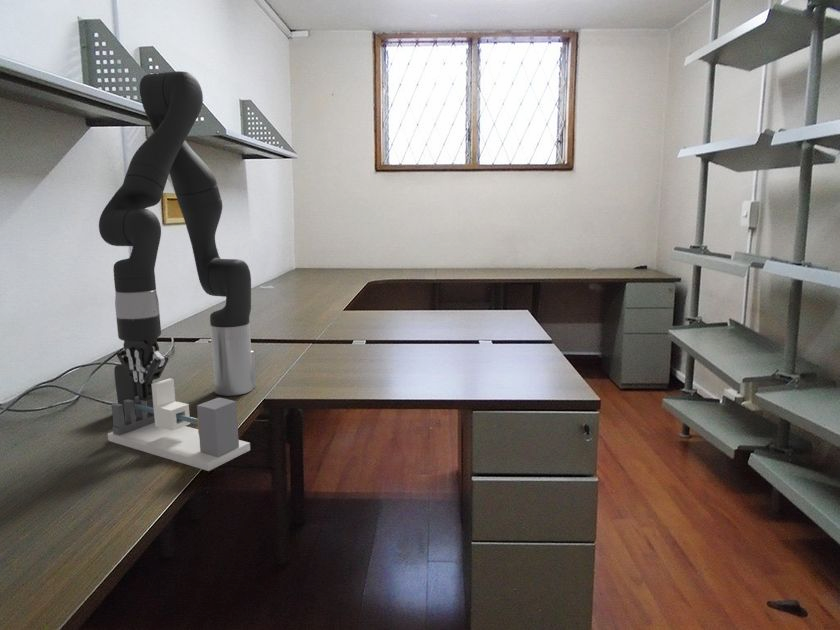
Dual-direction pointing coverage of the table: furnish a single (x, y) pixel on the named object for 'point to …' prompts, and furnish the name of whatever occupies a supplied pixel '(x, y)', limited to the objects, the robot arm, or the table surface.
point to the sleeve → (167, 406)
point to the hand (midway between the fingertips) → (145, 399)
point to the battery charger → (124, 385)
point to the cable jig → (181, 433)
